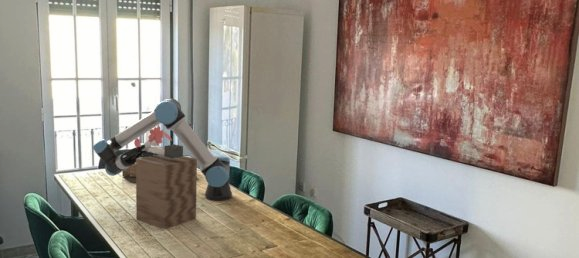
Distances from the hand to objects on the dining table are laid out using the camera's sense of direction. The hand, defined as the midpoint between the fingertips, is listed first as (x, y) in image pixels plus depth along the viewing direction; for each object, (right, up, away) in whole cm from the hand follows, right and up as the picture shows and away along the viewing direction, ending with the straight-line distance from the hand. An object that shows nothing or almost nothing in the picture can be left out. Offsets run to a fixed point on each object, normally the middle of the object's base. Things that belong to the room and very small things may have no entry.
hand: (152, 143), depth 242 cm
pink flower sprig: (-14, -27, +61) cm, 68 cm away
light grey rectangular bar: (+4, -5, -2) cm, 7 cm away
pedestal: (+7, -37, 0) cm, 38 cm away
